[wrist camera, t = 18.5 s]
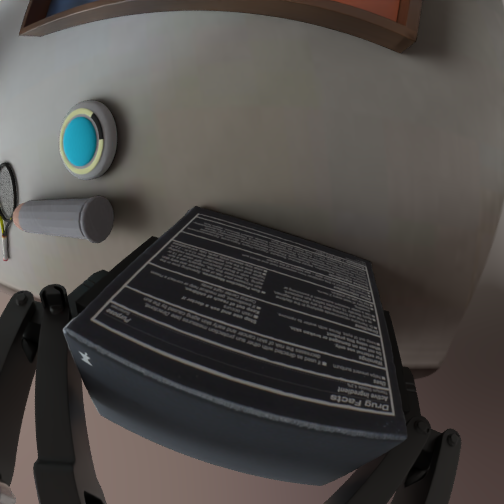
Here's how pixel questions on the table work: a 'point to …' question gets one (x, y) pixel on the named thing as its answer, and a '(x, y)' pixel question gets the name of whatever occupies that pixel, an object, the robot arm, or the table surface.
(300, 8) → the sorting tray
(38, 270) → the table surface
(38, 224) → the grey two-tone cylinder
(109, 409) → the small box
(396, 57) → the table surface
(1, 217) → the tennis racket
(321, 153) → the table surface
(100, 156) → the button
